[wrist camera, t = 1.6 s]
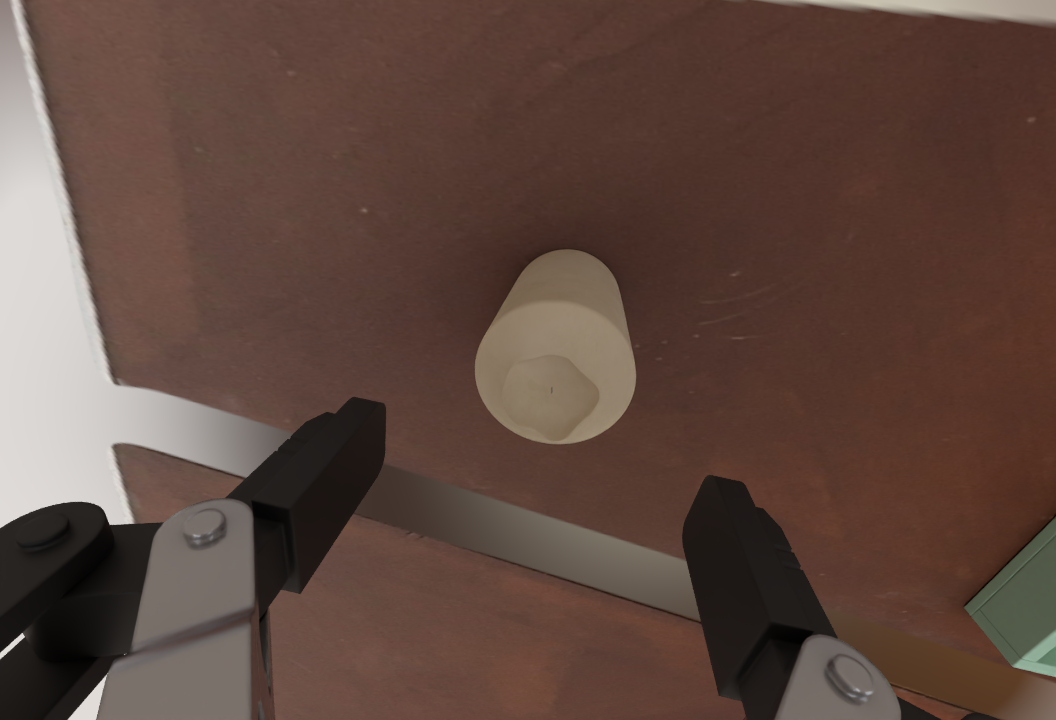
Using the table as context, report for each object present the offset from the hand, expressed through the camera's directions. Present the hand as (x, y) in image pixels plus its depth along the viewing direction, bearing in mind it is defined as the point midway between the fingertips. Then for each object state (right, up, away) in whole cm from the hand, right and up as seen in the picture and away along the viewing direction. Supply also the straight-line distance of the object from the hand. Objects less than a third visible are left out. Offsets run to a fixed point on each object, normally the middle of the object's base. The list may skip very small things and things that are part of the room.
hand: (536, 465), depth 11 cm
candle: (+2, +6, +12) cm, 13 cm away
